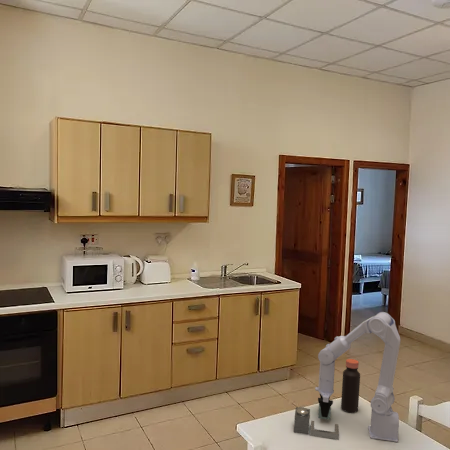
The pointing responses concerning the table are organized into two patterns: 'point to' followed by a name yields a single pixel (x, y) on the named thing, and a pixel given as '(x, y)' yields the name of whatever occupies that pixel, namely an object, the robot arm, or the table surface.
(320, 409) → the pale blue block
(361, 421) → the table surface
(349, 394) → the bottle
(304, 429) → the motor mount
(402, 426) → the table surface
